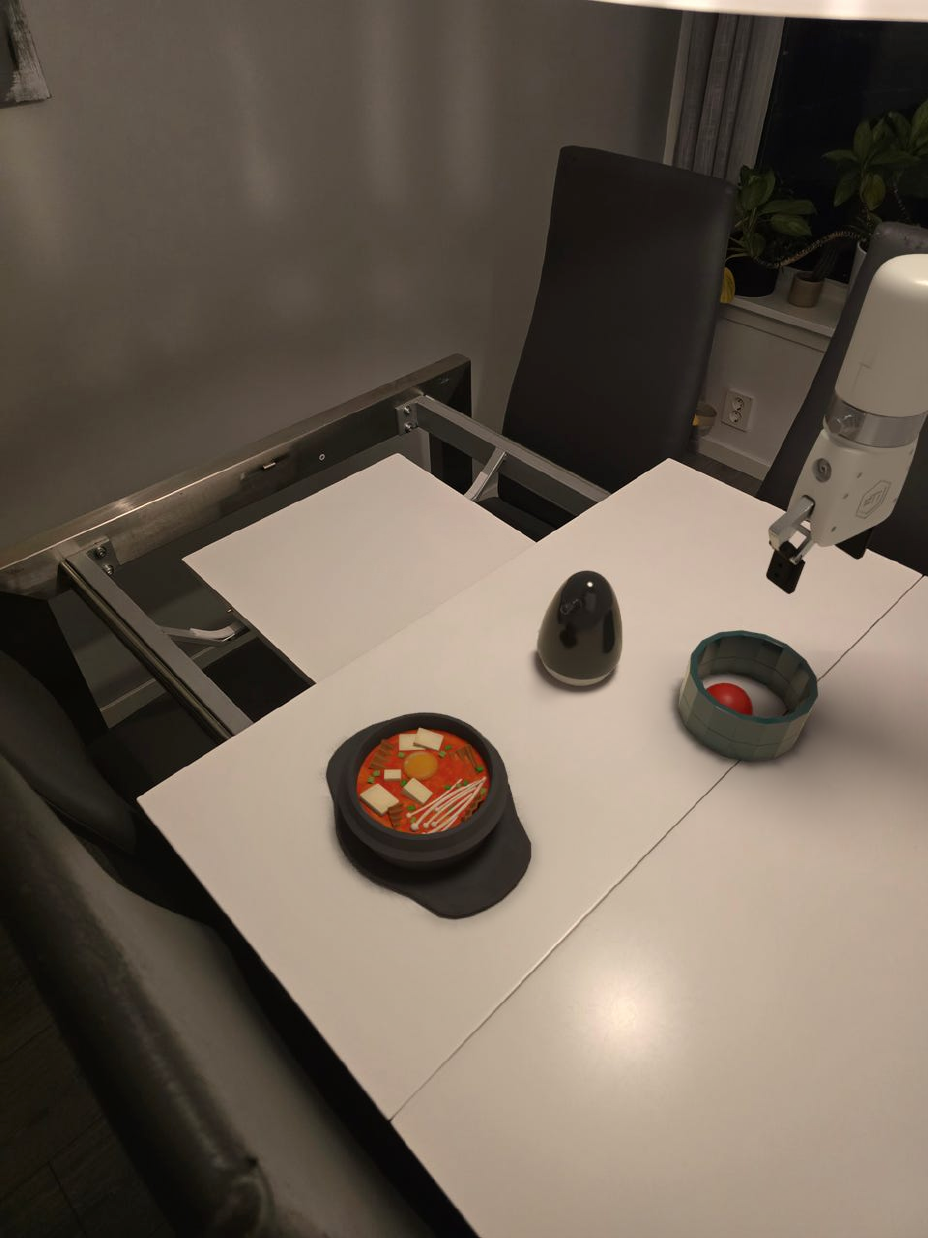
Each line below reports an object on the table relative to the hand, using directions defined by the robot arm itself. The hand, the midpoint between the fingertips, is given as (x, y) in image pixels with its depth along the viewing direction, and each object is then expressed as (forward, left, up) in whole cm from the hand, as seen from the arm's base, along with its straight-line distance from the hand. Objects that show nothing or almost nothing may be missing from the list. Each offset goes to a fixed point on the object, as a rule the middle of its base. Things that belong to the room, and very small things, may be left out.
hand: (814, 568), depth 78 cm
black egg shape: (+21, -6, -22) cm, 31 cm away
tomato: (+5, +3, -18) cm, 19 cm away
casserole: (+39, +15, -22) cm, 47 cm away
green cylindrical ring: (+3, +2, -22) cm, 22 cm away
